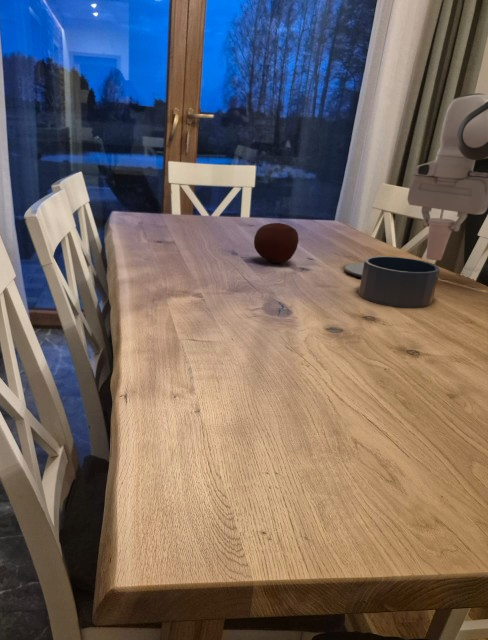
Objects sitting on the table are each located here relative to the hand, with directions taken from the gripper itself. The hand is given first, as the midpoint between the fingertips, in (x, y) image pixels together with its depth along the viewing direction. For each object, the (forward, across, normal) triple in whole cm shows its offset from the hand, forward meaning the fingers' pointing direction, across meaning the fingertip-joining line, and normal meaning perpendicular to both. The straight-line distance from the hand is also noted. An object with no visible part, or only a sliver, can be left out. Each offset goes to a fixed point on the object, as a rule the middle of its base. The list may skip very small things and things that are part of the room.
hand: (440, 228), depth 145 cm
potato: (+12, +28, +29) cm, 42 cm away
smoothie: (+8, 0, 0) cm, 8 cm away
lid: (+11, +6, +13) cm, 19 cm away
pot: (+12, -10, +27) cm, 31 cm away
